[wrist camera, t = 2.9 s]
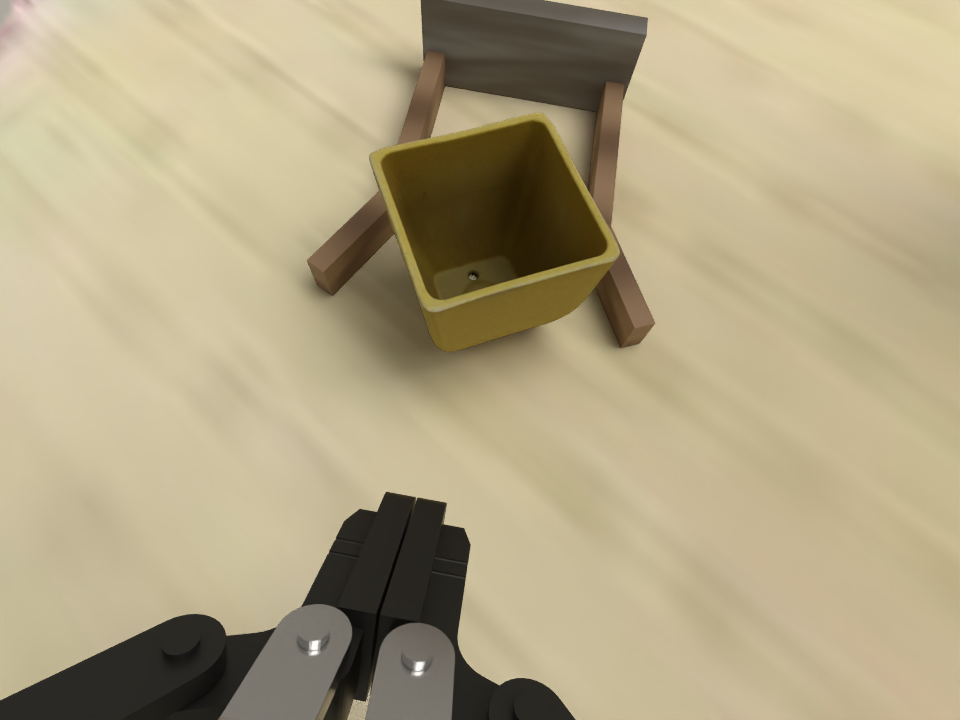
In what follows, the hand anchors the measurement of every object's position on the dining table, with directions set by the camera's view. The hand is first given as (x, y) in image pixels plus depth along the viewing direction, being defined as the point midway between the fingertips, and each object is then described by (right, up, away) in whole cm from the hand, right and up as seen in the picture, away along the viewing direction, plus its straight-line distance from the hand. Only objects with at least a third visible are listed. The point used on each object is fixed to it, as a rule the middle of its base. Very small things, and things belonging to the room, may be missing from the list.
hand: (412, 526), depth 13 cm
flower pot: (+2, +7, +19) cm, 20 cm away
